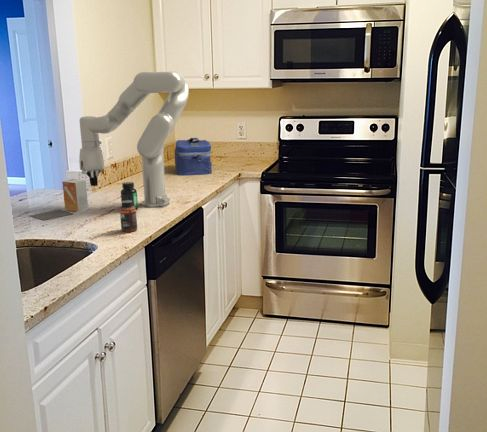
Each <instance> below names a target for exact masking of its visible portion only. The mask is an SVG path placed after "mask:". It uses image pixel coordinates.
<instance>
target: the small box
mask: <svg viewBox="0 0 487 432" xmlns="http://www.w3.org/2000/svg"><path fill="white" fill-rule="evenodd" d="M61 184H62V190H63V201H64V211H68V212H77V213H79V212H83V211H86V210H89V201H88V191H87V181H86V180H85V179H75V178H72V179H66V180H62V183H61Z"/></svg>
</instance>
